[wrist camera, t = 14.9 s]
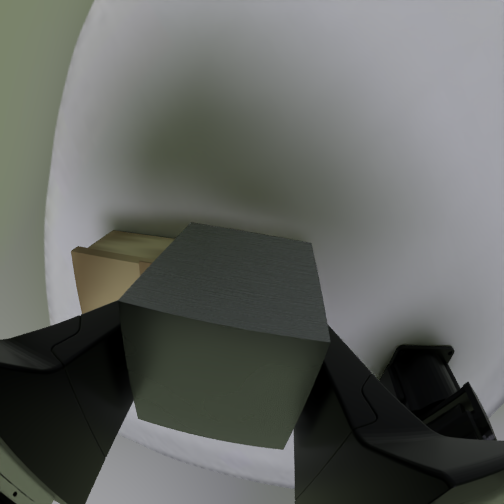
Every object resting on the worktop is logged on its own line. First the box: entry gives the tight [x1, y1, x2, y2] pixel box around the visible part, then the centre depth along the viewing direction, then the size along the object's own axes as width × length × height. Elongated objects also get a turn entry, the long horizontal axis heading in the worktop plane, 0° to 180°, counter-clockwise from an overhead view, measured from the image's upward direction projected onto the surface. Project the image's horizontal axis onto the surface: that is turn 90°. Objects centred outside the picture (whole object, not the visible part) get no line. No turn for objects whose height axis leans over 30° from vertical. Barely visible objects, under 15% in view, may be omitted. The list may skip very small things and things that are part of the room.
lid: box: [71, 246, 155, 314], centre depth 17 cm, size 14×9×1 cm, turn 84°
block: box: [118, 222, 331, 450], centre depth 8 cm, size 4×4×5 cm
